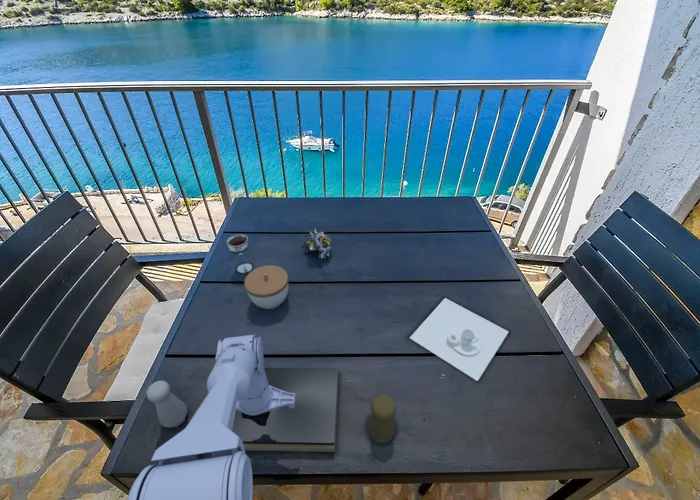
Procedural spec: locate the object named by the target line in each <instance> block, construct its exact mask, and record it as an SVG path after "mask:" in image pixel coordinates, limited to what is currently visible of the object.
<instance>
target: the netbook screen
mask: <svg viewBox="0 0 700 500" xmlns="http://www.w3.org/2000/svg"><path fill="white" fill-rule="evenodd" d="M264 370H265V373H266V377H267V380H268V384H269V385H270V386H272V387H275V388H277V389H280V390H283V391H285V392H288V393H295V396H296V402H295V408H289V406H284V407H280V408H277V409H274V410H271V411H270V415H269V417H268V419H267V424H266V426H259V425H258V424H256V423H255V422H254V421H252V420H250V419H244V418H242V415H241V413H242V412H240V411H238V410H236V413H235V418H234V424H233V429H232V432H234V433H235V434H236V435H237V436H239V437H240V439H241V440H242V442H243V443H246V444H302V445H334V443H335V444H336V440H335V425H336V426H337V420H336V407H337V408H338V400H337V389H338V390H339V380H338V371H339V368H318V367H317V368H316V367H315V368H313V367H311V368H309V367H307V368H306V367H264Z"/></svg>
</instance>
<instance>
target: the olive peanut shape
mask: <svg viewBox="0 0 700 500" xmlns="http://www.w3.org/2000/svg"><path fill="white" fill-rule="evenodd" d="M370 412H371V415H370V418H369V421H368V423H367V424H368V425H367V432H368V436H369V437H370V438H371V439H372V440H373V441H374V442H376V443H378V444H387V443H389V442H390V441H391V440H392V439H393V438H394V436H395V432H396V426H395V419H394V417H395V415H396V413H397V405H396V401H394V399H393V397H391V396H389V395H387V394H379V395H376V396H375V397H374V398H373V400H372V401H371V404H370Z"/></svg>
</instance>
